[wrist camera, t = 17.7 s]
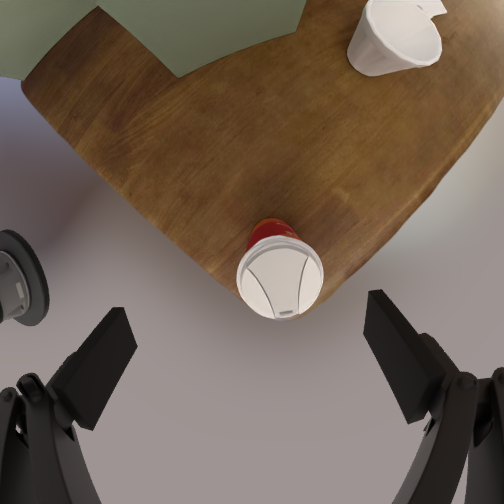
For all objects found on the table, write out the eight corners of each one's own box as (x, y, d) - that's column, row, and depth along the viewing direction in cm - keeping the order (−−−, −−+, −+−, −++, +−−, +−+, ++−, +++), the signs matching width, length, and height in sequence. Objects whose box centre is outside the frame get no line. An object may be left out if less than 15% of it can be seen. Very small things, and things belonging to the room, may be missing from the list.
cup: (321, 39, 28) (347, -5, 16) (373, 27, 27) (412, -9, 14) (355, 96, 31) (398, 72, 19) (405, 80, 30) (455, 60, 17)
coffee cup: (304, 260, 39) (329, 315, 25) (249, 270, 40) (246, 330, 26) (295, 203, 37) (321, 231, 22) (236, 214, 37) (225, 249, 23)
